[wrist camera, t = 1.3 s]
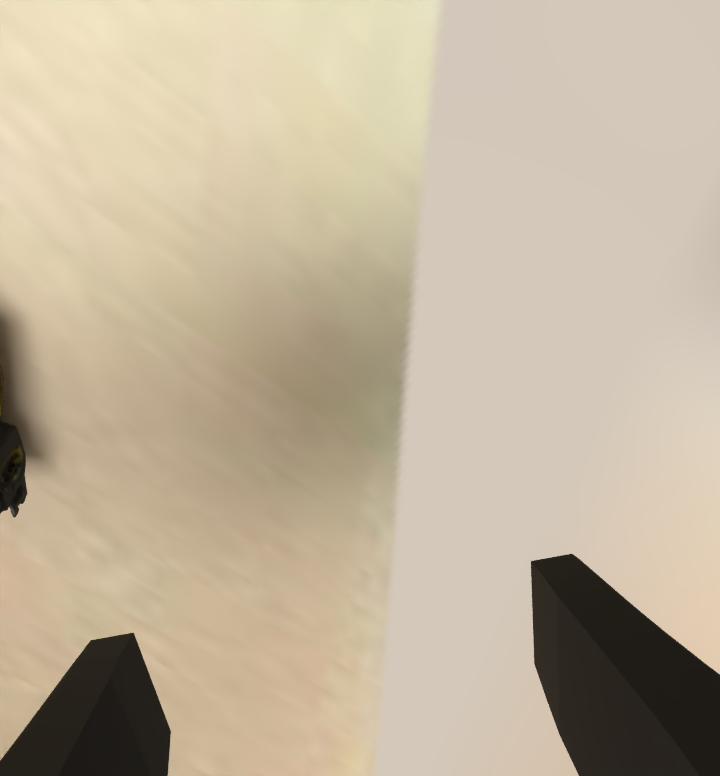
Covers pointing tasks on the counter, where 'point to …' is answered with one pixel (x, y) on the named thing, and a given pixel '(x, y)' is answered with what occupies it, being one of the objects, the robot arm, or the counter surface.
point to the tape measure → (11, 464)
